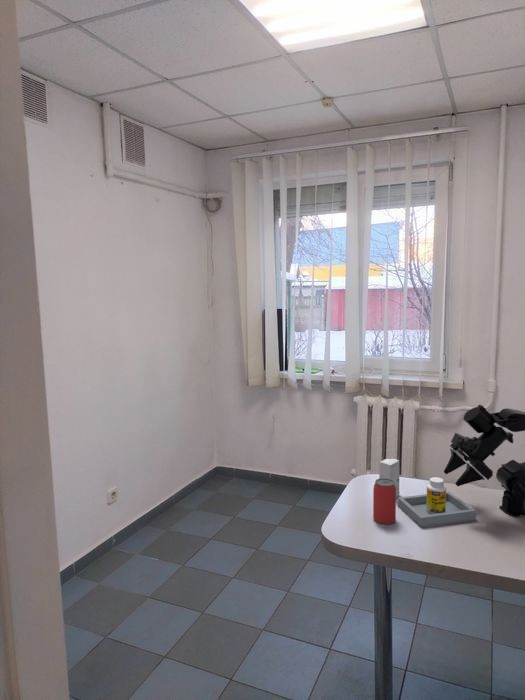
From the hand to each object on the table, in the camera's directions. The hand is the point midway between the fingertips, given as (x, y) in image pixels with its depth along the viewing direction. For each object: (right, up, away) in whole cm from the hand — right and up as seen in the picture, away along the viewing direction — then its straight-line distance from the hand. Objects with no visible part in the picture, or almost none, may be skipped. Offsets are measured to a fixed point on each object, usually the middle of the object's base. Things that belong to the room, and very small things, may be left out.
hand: (450, 478), depth 148 cm
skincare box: (-15, -10, +15) cm, 23 cm away
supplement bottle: (-4, -11, +1) cm, 11 cm away
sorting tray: (-4, -11, +2) cm, 12 cm away
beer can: (-21, -12, -2) cm, 24 cm away
